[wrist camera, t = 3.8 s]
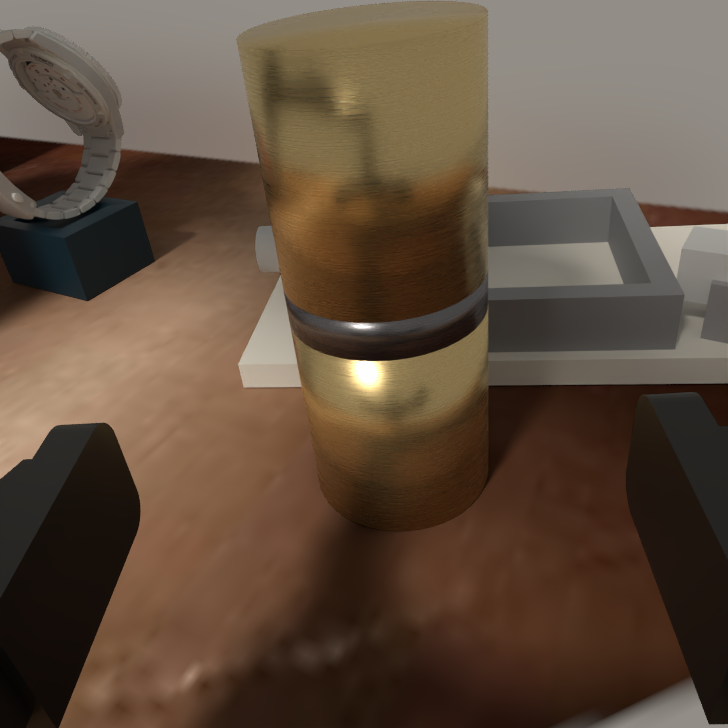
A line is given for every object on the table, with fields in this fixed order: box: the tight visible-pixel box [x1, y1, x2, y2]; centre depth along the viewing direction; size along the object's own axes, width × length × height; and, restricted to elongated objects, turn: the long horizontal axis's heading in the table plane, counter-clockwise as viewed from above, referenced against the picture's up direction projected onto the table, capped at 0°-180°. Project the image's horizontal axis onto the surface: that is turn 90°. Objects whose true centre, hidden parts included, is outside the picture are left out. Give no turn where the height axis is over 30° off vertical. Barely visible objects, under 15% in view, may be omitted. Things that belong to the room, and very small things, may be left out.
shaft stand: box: [238, 188, 728, 388], centre depth 26 cm, size 20×10×4 cm, turn 83°
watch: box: [0, 27, 155, 301], centre depth 32 cm, size 6×8×11 cm
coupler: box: [236, 1, 488, 531], centre depth 17 cm, size 5×5×12 cm
